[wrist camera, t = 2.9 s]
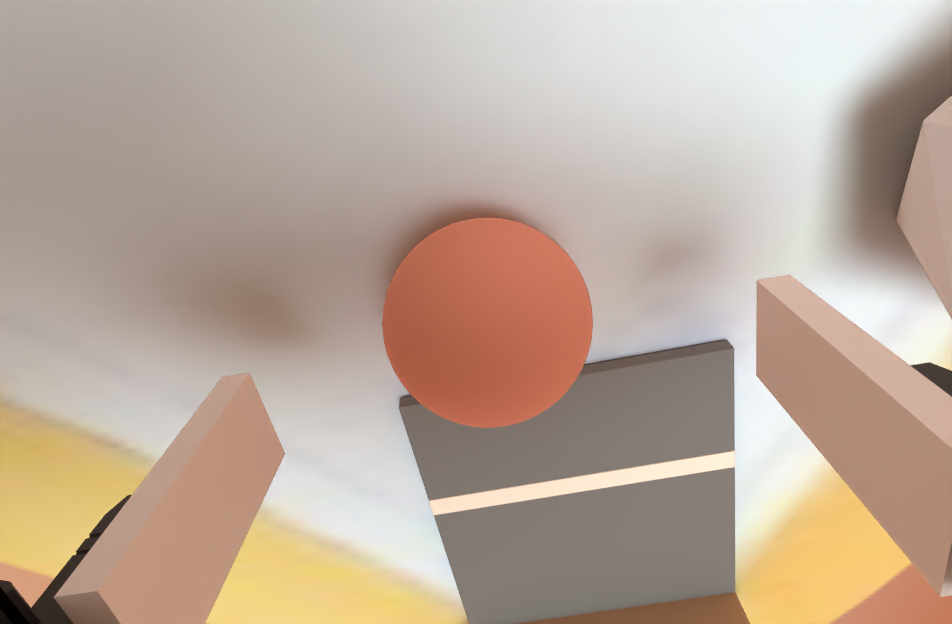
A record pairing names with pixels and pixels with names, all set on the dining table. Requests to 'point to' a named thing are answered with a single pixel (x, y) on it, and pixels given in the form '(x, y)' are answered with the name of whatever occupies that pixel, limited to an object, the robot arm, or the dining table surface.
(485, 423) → the ball
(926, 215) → the die
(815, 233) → the dining table surface
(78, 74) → the dining table surface
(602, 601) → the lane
